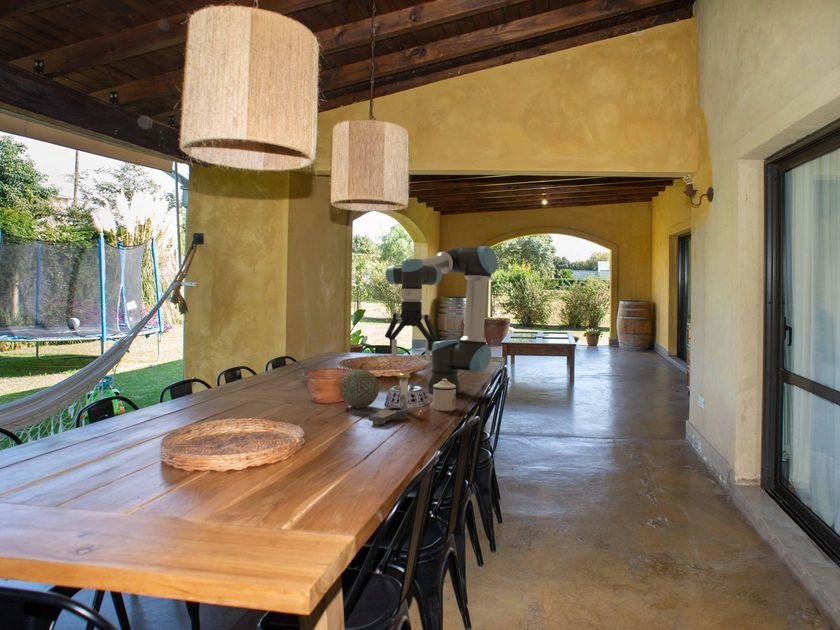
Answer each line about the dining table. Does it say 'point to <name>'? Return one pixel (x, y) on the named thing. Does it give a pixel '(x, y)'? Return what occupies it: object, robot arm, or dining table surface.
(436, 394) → the beige lidded jar
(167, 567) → the dining table surface
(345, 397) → the decorative sphere
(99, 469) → the dining table surface
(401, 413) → the grey flat angular block
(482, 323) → the robot arm
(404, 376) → the pin
